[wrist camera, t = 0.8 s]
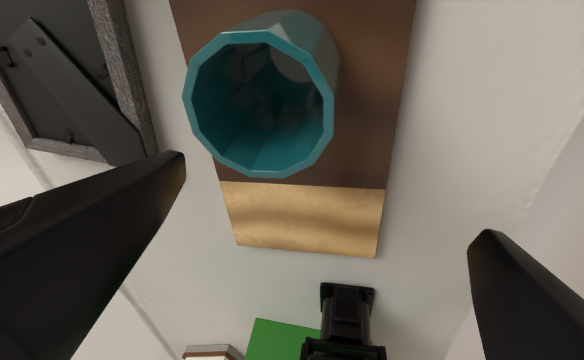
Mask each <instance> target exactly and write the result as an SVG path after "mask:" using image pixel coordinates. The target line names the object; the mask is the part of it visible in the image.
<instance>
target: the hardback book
mask: <svg viewBox="0 0 584 360" xmlns="http://www.w3.org/2000/svg"><path fill="white" fill-rule="evenodd" d="M320 333H321V331H320V330H315V329H310V328H305V327H300V326H295V325H290V324H284V323H279V322H274V321H269V320H264V319H259V318H256V320H255V324H254V327H253V331H252V334H251V338H250V341H249V345H248V348H247V352H246V355H245V359H244V360H299V359H300V353H301V346H302V343H304V342H305V340H306V336H308V337H311V338H316V339H320ZM371 346H372V340H371Z"/></svg>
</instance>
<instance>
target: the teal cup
mask: <svg viewBox="0 0 584 360" xmlns="http://www.w3.org/2000/svg"><path fill="white" fill-rule="evenodd" d="M340 69H341V54H340V52H339V50H338V47H337V44H336V42H335V39H334V37H333V36H332V34H331V33H330V31H329V30H328V29H327V27H326V26H325V25H324V24H323V23H322V22H321V21H320V20H318V19H317V18H315V17H314V16H312V15H310V14H308V13H306V12H303V11H301V10H299V9H281V10H276V11H267V12H264V13H262V14H260V15H258V16H256V17H253V18H251V19H249V20H247V21H245V22H242V23H240V24H238V25H236V26H234V27H231V28H229V29H227V30H225V31H223V32H221V33H219V34H218V35H217V36H216V37H215V38H214V39H212V40H211V41H210V42H209V43H208V44H207V45H206V46H204V47H203V48H202V49H201V50H200V51H199V52H197V53H196V54H195V55H194V56H193V57H192V58H191V59H190V62H189V67H188V71H187V75H186V80H185V84H184V89H183V93H182V100H183V103H184V106H185V109H186V113H187V116H188V119H189V122H190V125H191V129H192V132H193V134H194V135H195V136H196V137H197V139H198V140H199V141H200V142H201V143H202V144H203V145H204V146H205V148H206V149H207V150H208V151H209V152H210V153H211V154H212V156H213V157H214V158H215V159H216V160H217V161H218V162H220V163H222V164H224V165H226V166H228V167H230V168H232V169H234V170H236V171H238V172H240V173H242V174H244V175H246V176H248V177H259V178H280V179H283V178H286V177H288V176H290V175H293V174H295V173H297V172H299V171H301V170H304V169H306V168H308V167H310V166H312V165H314V164H315V162H316V161H317V159H318V158H319V156H320V155H321V153H322V152H323V151H324V149H325V148H326V146H327V145H328V143H329V142H330V140H331V139H332V137H333V135H334V127H335V119H336V111H337V103H338V95H339V87H340Z"/></svg>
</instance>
